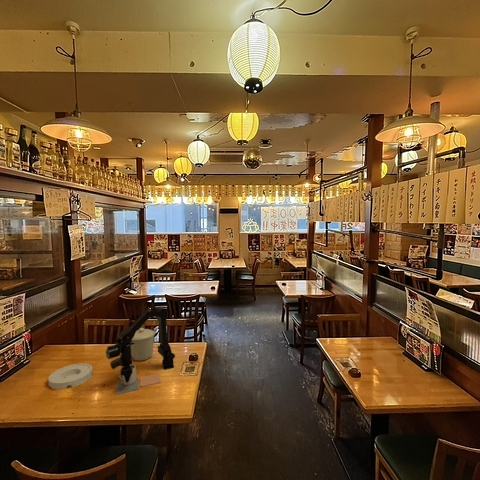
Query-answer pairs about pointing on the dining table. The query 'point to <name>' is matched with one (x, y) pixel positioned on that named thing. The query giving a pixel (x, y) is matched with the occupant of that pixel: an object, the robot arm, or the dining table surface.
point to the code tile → (126, 387)
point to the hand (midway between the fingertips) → (127, 379)
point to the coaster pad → (149, 380)
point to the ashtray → (70, 376)
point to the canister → (142, 344)
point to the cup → (132, 377)
